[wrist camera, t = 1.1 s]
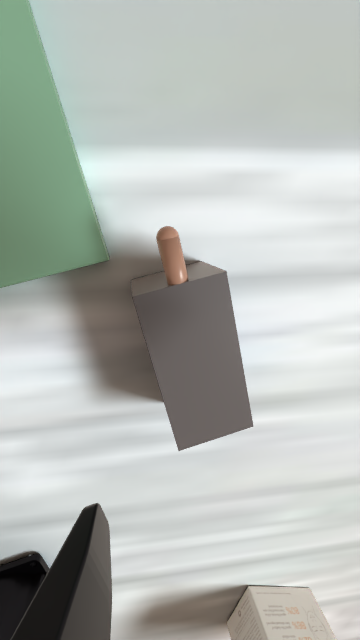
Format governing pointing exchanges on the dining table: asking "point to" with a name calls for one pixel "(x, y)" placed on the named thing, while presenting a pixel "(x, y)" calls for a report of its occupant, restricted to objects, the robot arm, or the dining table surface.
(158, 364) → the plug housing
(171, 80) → the dining table surface
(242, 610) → the small box
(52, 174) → the pin board
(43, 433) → the dining table surface
